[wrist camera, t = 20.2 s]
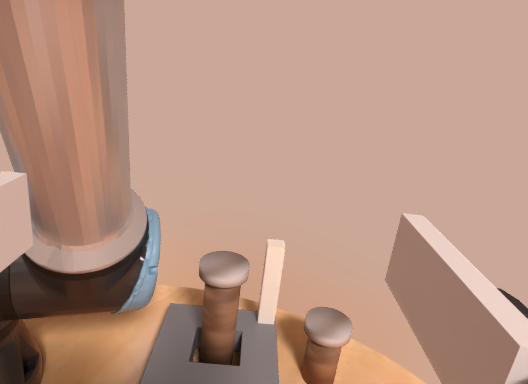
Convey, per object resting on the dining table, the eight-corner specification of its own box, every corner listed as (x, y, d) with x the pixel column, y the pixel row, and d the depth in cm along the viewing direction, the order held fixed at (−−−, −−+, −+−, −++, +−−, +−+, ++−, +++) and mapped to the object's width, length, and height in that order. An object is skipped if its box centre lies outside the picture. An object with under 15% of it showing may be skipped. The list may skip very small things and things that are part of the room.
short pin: (287, 377, 51) (297, 322, 48) (308, 353, 56) (318, 301, 53) (328, 402, 48) (340, 345, 45) (346, 374, 53) (359, 320, 50)
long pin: (183, 368, 51) (189, 262, 45) (213, 344, 55) (222, 246, 50) (217, 393, 48) (227, 282, 42) (246, 365, 52) (259, 263, 47)
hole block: (137, 413, 44) (137, 295, 38) (169, 322, 59) (173, 228, 54) (275, 425, 44) (295, 310, 39) (272, 331, 59) (286, 239, 54)
